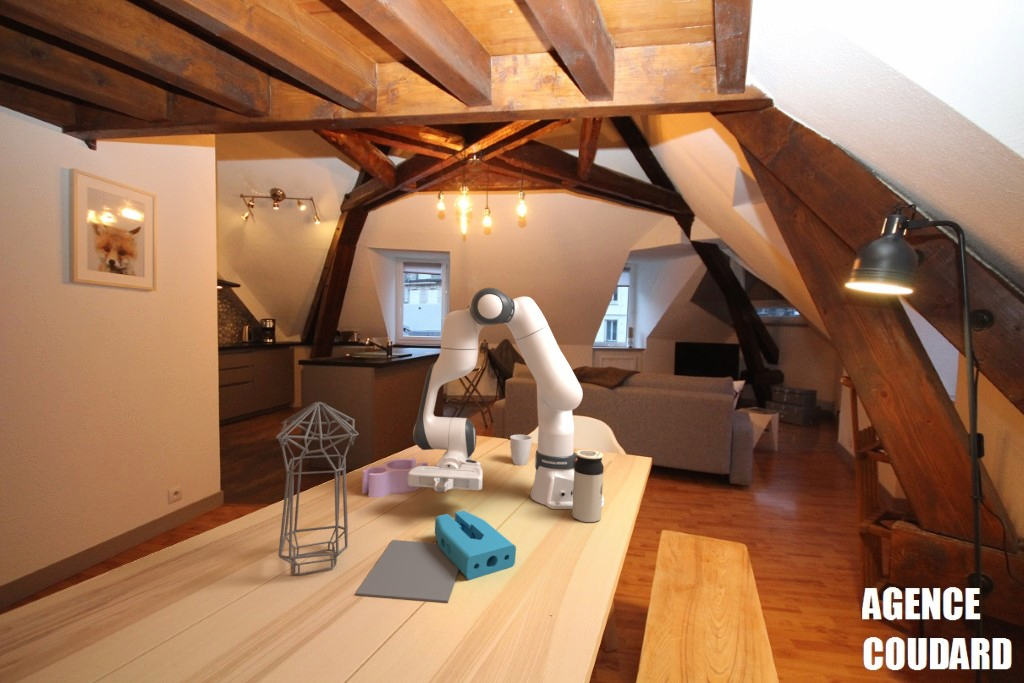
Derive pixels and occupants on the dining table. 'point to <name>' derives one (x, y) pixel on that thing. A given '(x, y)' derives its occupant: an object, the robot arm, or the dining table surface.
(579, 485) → the travel mug
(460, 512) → the block
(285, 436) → the geometric lantern
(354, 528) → the dining table surface
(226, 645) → the dining table surface
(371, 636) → the dining table surface
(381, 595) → the mat
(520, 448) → the cup
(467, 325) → the robot arm
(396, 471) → the clip
